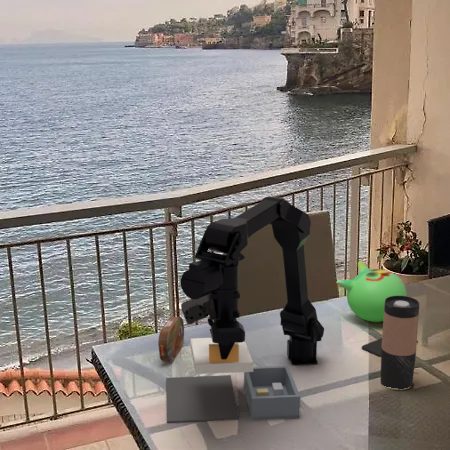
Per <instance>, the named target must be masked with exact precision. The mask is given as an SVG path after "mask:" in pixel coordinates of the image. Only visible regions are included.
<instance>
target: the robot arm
mask: <svg viewBox="0 0 450 450" xmlns="http://www.w3.org/2000/svg"><path fill="white" fill-rule="evenodd" d="M311 222H312V221H311V218H310V215H309V213H306V211H303V209H299V208H298V207H296V206H295V205H292V204H291V203H290V202H289V201H288V200H286V199H285V198H283V197H277V196H276V197H275V196H270V195H268V196H265V197H264V198H263V199H262V201H259V203H257V204H255V205H253V206H251V207H250V208H248V209H246V210H245V211H243V212H242V213H240V214H239V215H237V216H235V217H230V218H221V219H218V220H214V221H211V222H210V223H209V224H208V226H206V228H205V230H204V233H203V235H202V238H201V240H200V243H199V245H198V248H197V250H196V253H195V254H194V258H195V259H197V261H192V262H190V263H188V270H187V269H186V270H185V271H184V272H183V273H182V275H181V278H180V280H179V281H180V288H181V290H182V292H183V294H185V296H186V298H189V299H188V300H185V301H183V302H182V303H181V305H180V307H181V308H180V309H181V312H182V314H183V316H184V317H183V318H184V320H185V321H186V324H187V325H192V324H194V323H196V322H198V321H200V320H203V319H206V318H207V317H208V318H207V324H208V325H209V326H210V328H209V332H210V335H211V337H210V338H212V342H213V343H218V344H219V350H220V355H221V359H222V360H223V359H227V357H228V355H229V353H230V351H231V349H232V347H233V346H234V344H235V343H240V342H244V341H245V342H246V331H245V327H244V325H243V324H242V323H241V322H239V321H238V320H237V319H240V317H241V314H240V311H239V299H240V298H241V294H240V290H239V278H240V277H239V275H240V272H239V270H240V269H239V268H240V267H239V266H240V261H243V260H245V259H246V256H245V255H244V254H243V253H242V251H243V250H244V249H245V248H246V247H247V246H248V245H249V238H250V237H252V236H253V235H255V234H256V233H259V231H261V230H262V229H264V228H265V227H266V226H268V225H270V226H271V229H272V233H273V238H274V239H275V240H276V242H277V243H278V245H279V246H280V247H281V250H282V262H283V271H284V273H283V274H284V281H285V282H284V284H285V291H286V303H285V305H284V306H283V309H281V310H280V312H279V316H280V326H281V328H282V332H283V335H284V336H289V339H287V340H286V355H287V359H288V360H289V361H290V364H291V365H292V366H299V365H303V366H304V365H318V364H319V360H318V359H317V352H318V351H317V350H318V349H317V348H318V347H317V346H318V342H321V341H322V338H323V337H324V333H325V327H324V326H323V325H322V324H321V322H320V321H319V320H318V314H317V310H316V307H315V306H314V304H313V303H312V302H311V301H310V299H309V296H308V295H309V294H308V293H309V292H308V283H307V271H306V270H307V269H306V258H305V256H306V255H305V246H304V245H305V243H306V241H307V240H308V238H309V237H310V234H311V224H312V223H311ZM216 252H219V253H216ZM221 253H222V254H221Z"/></svg>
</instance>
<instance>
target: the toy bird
mask: <svg viewBox="0 0 450 450" xmlns="http://www.w3.org/2000/svg"><path fill="white" fill-rule="evenodd" d="M357 268H358V274H357V275H356V276H355V277H354V278H353V279H338V280H337V281H336V285H338V286H340V288H343V289H345V291H346V292H347V293H346V298H347V303H348V306H349V308H350V310H351V311H352V312H353V314H354V315H356V316H357V317H359V318H360V319H362V320H364V321H368V322H371V323H372V322H373V323H377V322H378V323H379V322H380V323H381V322H383V320H384V307H385V299H386V298H388V297H391V296H407V289H406V286H405V284H404V282H403V280H402V279H401V278H400V277H399V276H398V275H397V274H395V273H393V272H391V271H388V270H384V269H377V268H374V269H370V268H369V267H368V266H367V265H366V263H364V262H363V261H362V260H359V261H358V263H357Z"/></svg>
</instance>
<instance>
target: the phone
mask: <svg viewBox="0 0 450 450" xmlns="http://www.w3.org/2000/svg"><path fill="white" fill-rule="evenodd" d="M417 344H418V340H417ZM381 346H382V337H380V338H378V339H376V340H372V341H371V342H368V343H366V344H364V345H362V346H361V350H363V351H364V352H367V353H370V354H371V355H373V356H376V357H379V358H381V348H382V347H381Z"/></svg>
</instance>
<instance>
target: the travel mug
mask: <svg viewBox="0 0 450 450" xmlns="http://www.w3.org/2000/svg"><path fill="white" fill-rule="evenodd" d="M419 315H420V302H419V300H417V298H414V297H412V296H411V297H410V296H407V295H406V296H391V297H388V298H386V299H385V307H384V320H383V321H382V323H383V325H382V335H381V336H382V337H381V338H382V346H381V347H382V348H381V357H380V384H381V385H382V386H383V385H384V386H386V387H391V388H398V389H404V388H408V387H410V386H412V387H413V383H414V375H415V366H416V356H417V347H418V346H417V345H418V343H417V341H418V334H419V333H418V331H419V330H418V329H419V317H420V316H419ZM384 386H383V387H384ZM386 387H385V388H386Z"/></svg>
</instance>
